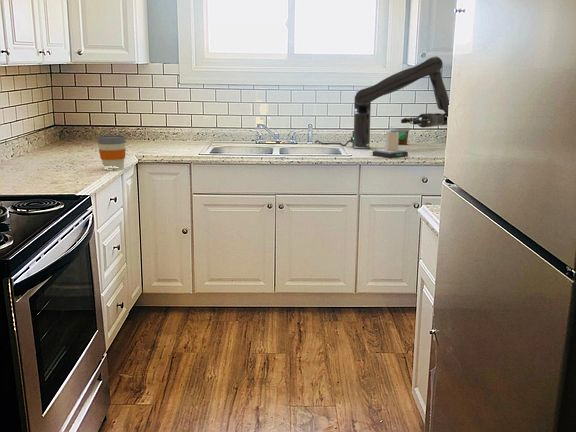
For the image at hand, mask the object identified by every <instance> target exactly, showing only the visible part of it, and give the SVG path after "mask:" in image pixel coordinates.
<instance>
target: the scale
mask: <svg viewBox="0 0 576 432" xmlns="http://www.w3.org/2000/svg"><path fill="white" fill-rule="evenodd" d="M371 156H374V157H378V158H379V157H380V158H386V159H396V158H403V157H404V158H405V157H408V156H409V152H408V151H406V149H399V148H398V150H397V151H388V150H386V147H385V148H378V149H373V151H372V155H371Z"/></svg>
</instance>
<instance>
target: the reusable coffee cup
mask: <svg viewBox="0 0 576 432" xmlns="http://www.w3.org/2000/svg"><path fill="white" fill-rule="evenodd" d="M126 142H127V141H126V136H125V135H120V134H109V135H100V136H97V144H98V152H99V158H100V160H101V163H102V166H103V165H104V166H112V167H113V166H116V167H119V168H108V169H114V170H113V171H121V170H124V168H125V158H126V151H127V150H126Z"/></svg>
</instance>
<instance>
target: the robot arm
mask: <svg viewBox="0 0 576 432" xmlns="http://www.w3.org/2000/svg"><path fill="white" fill-rule="evenodd" d="M430 56H431V57H429V56H428V57H429V58H428V59H427V60H426V59H425V60H426V61H425V60H424V61H422V62H421V63H419V64H416V65H414V66H412V67H407V68H404V69H402V70H399V71H397V72H395V73H392V74H390V75H388V76H386V77H385V78H383V79H381V80H380V81H379V82H377V83H376V84H373V85H371V86H368V87H364V88H359V89H358V90H356V92H355V94H354V105H353V106H354V108H353V130H352V136H351V137H350V139H349V140H348V141H346V142H345V143H344V144H343V143H341V142H322V141H320V140H319V139H317V140H315V141H314V144H317V143H319V144H322V145H340V146H342V147H346V146H347V145H348V144H349V143H350V144H351V146H352V148H354V149H358V150H359V149H360V150H361V149H365V150H367V149H370V147H371V146H370V145H371V143H370V142H371V113H372V112H371V110H372V107H371V105H372V104H371V103H372V102H373V101H375V100H377V99H378V98H381V97H383V96H386V95H389V94H392V93H394V92H397V91H399V90H402V89H403V88H405V87H408V86H409V85H412V84H413V83H415V82H417V81H419V80H420V79H423V78H424V77H425V78H426V77H429V80H430V83H431V86H432V91H433V94H434V95H433V96H434V97H435V98H434V99H435V103H436V106H437V107H436V108H437V109H438V110H440V111H443V112H440V113H439V112H434V113H433V112H427V113H420V114H419V115H418V116H415V117H404V118H401V119H400V123H401V124H410V125H415V126H416V125H418V127H420V128H432V127H438V126H442V127H443V126H448V125H447V116H448V105H449V101H450V98H449V94H448V90H447V88H446V86H445V83H444V80H443V76H442V68H443V66H444V63H443V59H441V57H439V56H437V55H434V56H432V55H430Z"/></svg>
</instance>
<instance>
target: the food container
mask: <svg viewBox="0 0 576 432" xmlns="http://www.w3.org/2000/svg"><path fill="white" fill-rule="evenodd" d="M410 131H411V130H410V127H392V126H390V127H389V132H398V133H399V136H398V146H405V145H408V138H409V133H410Z"/></svg>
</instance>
